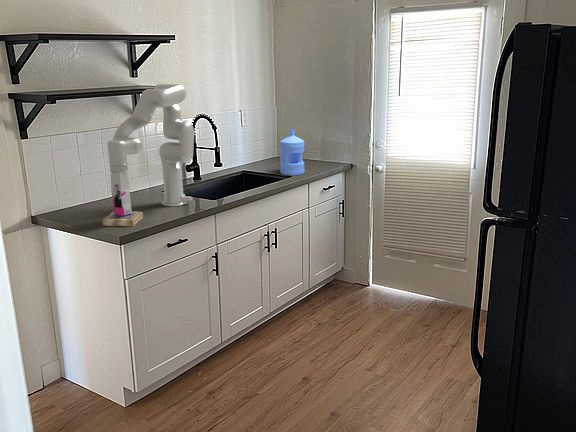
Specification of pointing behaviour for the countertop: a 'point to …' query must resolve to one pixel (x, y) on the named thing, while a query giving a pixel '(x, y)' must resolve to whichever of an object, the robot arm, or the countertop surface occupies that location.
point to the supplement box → (123, 205)
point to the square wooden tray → (122, 219)
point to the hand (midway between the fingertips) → (122, 204)
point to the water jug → (292, 155)
